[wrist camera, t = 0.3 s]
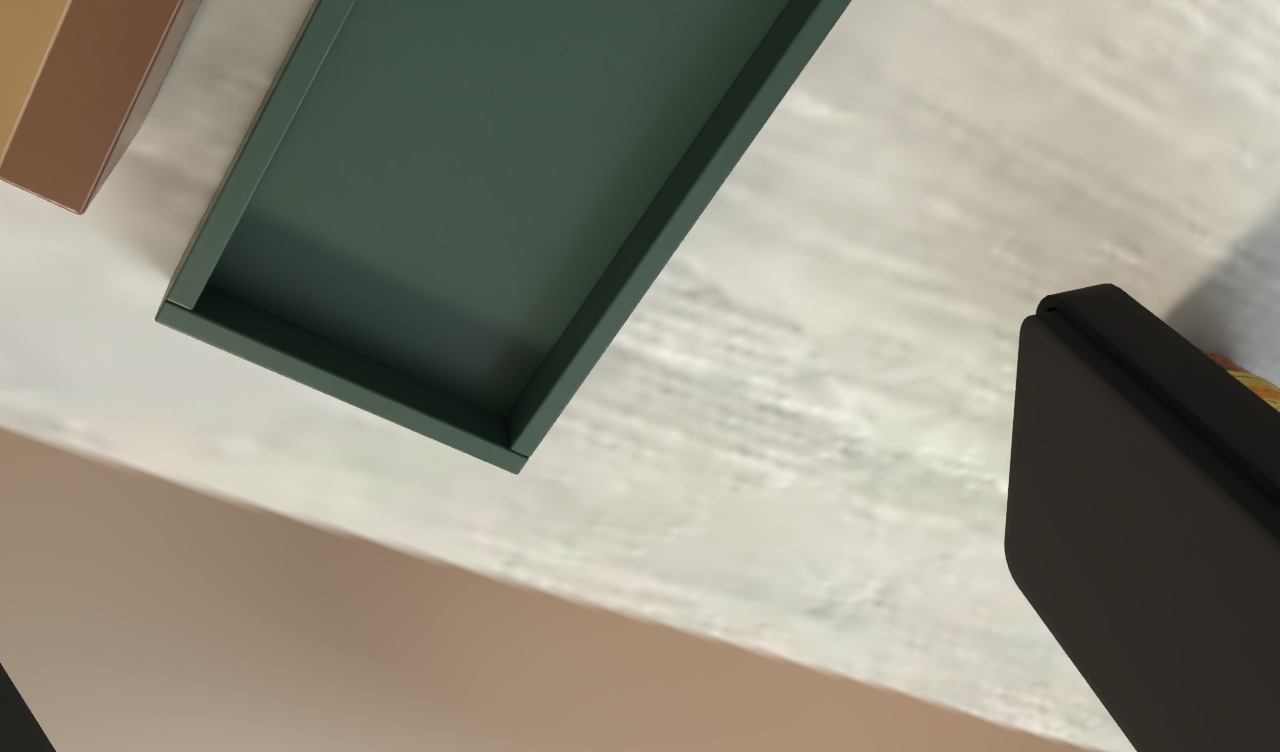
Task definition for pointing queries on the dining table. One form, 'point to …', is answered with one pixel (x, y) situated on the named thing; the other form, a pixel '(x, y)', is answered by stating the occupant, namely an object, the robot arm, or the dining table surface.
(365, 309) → the tray
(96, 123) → the walnut box
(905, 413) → the dining table surface
